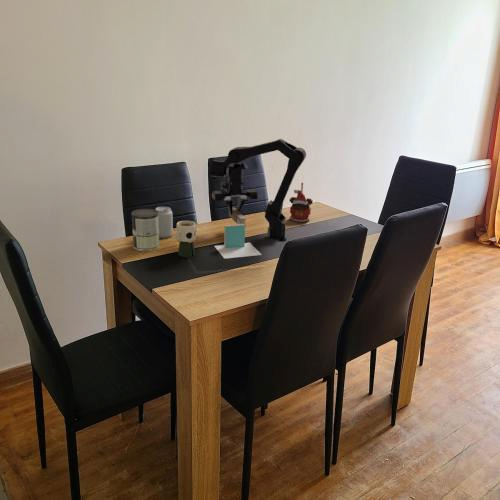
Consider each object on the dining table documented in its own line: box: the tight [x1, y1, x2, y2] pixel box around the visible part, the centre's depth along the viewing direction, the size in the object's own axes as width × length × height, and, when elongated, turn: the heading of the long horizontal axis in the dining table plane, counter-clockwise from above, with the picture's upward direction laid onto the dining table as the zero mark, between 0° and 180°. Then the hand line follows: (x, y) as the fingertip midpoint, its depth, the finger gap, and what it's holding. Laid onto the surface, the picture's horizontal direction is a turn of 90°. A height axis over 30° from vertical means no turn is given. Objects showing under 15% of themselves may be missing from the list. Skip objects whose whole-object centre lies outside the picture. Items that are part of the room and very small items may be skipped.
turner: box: [228, 206, 247, 225], centre depth 211 cm, size 2×16×4 cm, turn 19°
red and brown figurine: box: [289, 182, 313, 223], centre depth 237 cm, size 11×9×18 cm
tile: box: [223, 223, 246, 248], centre depth 199 cm, size 8×2×9 cm, turn 110°
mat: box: [214, 242, 263, 260], centre depth 197 cm, size 15×14×1 cm
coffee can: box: [130, 208, 160, 252], centre depth 198 cm, size 10×10×14 cm
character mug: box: [175, 220, 197, 258], centre depth 190 cm, size 11×7×13 cm, turn 145°
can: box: [155, 206, 174, 239], centre depth 210 cm, size 8×8×12 cm
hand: (234, 214), depth 215 cm, fingers closed on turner, 2 cm apart
